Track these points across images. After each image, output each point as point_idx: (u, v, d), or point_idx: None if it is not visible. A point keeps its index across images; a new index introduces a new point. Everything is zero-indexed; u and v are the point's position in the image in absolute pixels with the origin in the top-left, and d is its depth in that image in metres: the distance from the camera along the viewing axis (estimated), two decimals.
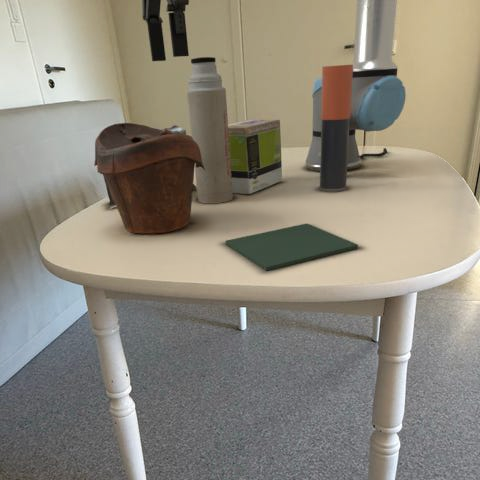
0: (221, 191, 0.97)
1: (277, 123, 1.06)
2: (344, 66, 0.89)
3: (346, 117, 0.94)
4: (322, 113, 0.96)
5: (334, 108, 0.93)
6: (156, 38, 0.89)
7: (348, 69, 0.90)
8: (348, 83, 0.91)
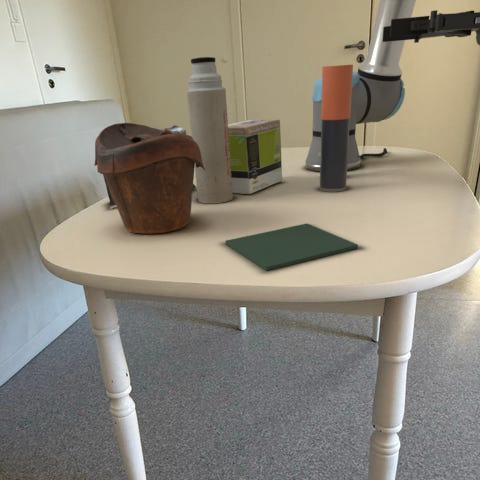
0: (220, 191, 0.97)
1: (277, 123, 1.06)
2: (344, 66, 0.89)
3: (346, 117, 0.94)
4: (322, 113, 0.96)
5: (334, 108, 0.93)
6: None
7: (348, 69, 0.90)
8: (348, 83, 0.91)
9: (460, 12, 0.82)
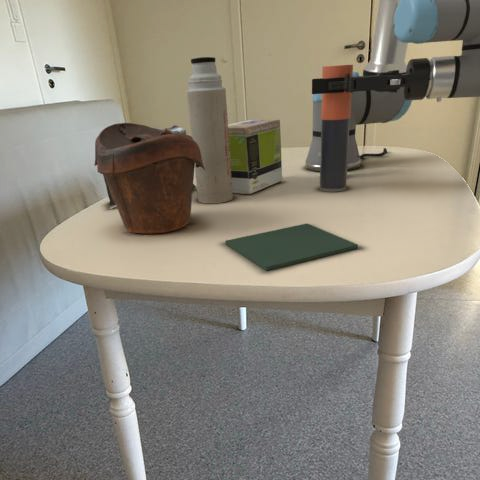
0: (220, 191, 0.97)
1: (277, 123, 1.06)
2: (344, 66, 0.89)
3: (346, 117, 0.94)
4: (322, 113, 0.96)
5: (334, 108, 0.93)
6: None
7: (348, 69, 0.90)
8: None
9: (380, 72, 0.89)
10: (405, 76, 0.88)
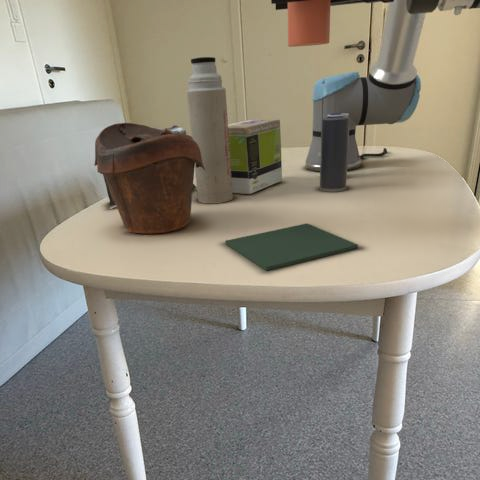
0: (220, 191, 0.97)
1: (277, 123, 1.06)
2: None
3: (323, 40, 0.65)
4: (289, 36, 0.66)
5: (305, 24, 0.64)
6: None
7: None
8: None
9: None
10: None
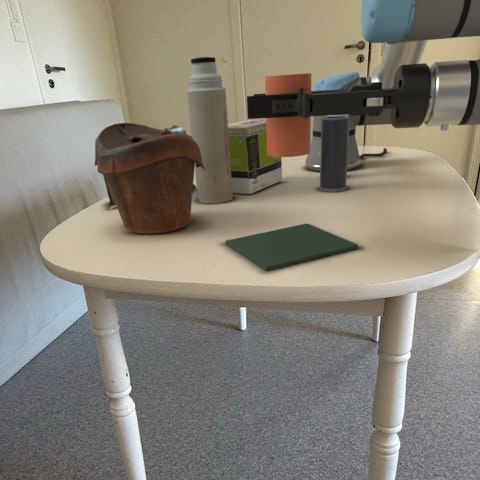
0: (220, 191, 0.97)
1: None
2: (296, 76, 0.57)
3: (303, 153, 0.62)
4: (268, 146, 0.63)
5: (283, 139, 0.61)
6: None
7: (302, 80, 0.58)
8: None
9: (353, 86, 0.57)
10: (391, 92, 0.55)
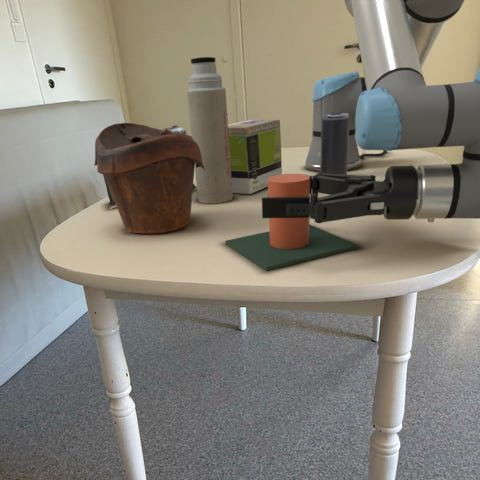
0: (220, 191, 0.97)
1: (277, 123, 1.06)
2: (296, 183, 0.63)
3: (302, 245, 0.68)
4: (270, 237, 0.70)
5: (284, 234, 0.67)
6: None
7: (302, 186, 0.64)
8: None
9: (353, 188, 0.62)
10: (382, 194, 0.61)
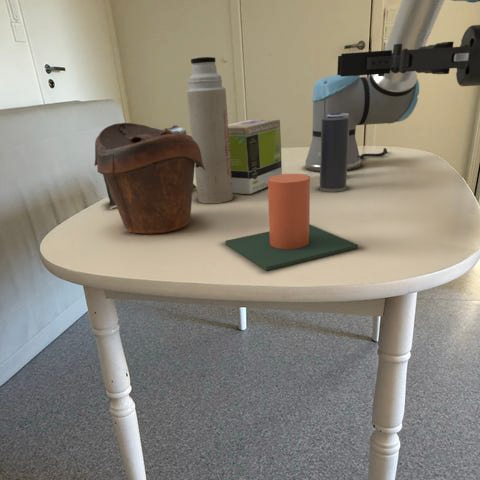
0: (220, 191, 0.97)
1: (277, 123, 1.06)
2: (296, 183, 0.63)
3: (302, 245, 0.68)
4: (270, 237, 0.70)
5: (284, 234, 0.67)
6: None
7: (302, 186, 0.64)
8: (304, 204, 0.65)
9: None
10: None
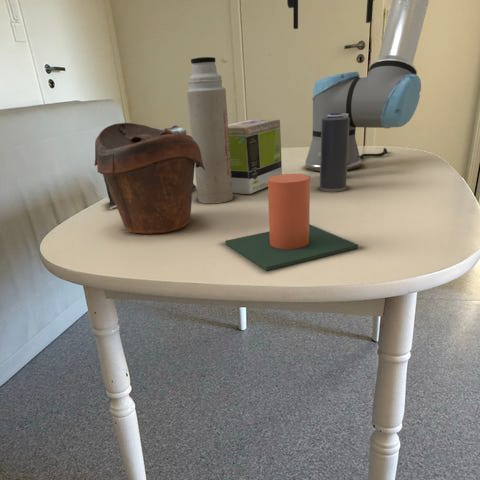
0: (220, 191, 0.97)
1: (277, 123, 1.06)
2: (296, 183, 0.63)
3: (302, 245, 0.68)
4: (270, 237, 0.70)
5: (284, 234, 0.67)
6: None
7: (302, 186, 0.64)
8: (304, 204, 0.65)
9: None
10: None
